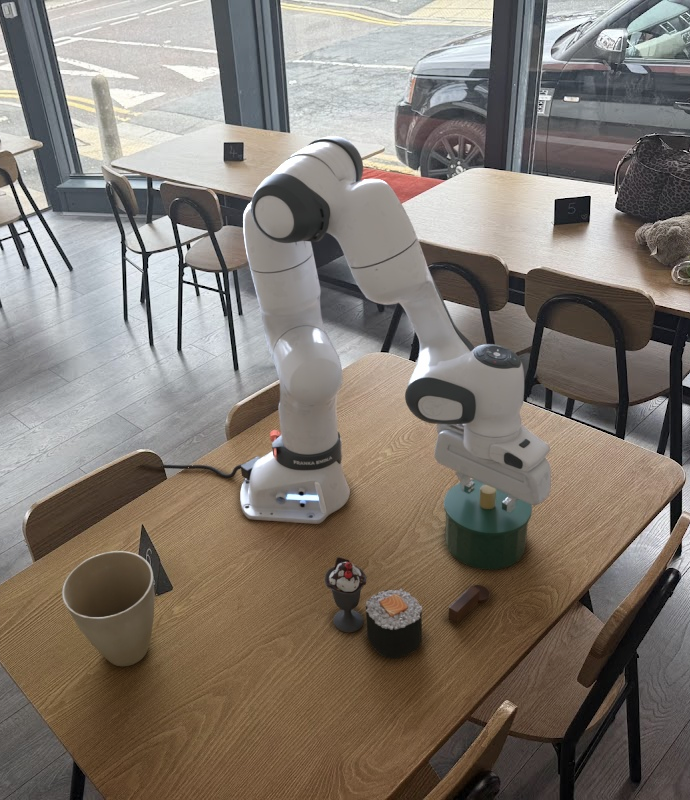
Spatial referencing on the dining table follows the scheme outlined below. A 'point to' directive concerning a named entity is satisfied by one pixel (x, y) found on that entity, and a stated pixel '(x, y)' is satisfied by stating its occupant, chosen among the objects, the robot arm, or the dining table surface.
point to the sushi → (394, 623)
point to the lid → (485, 510)
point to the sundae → (346, 593)
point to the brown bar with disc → (468, 602)
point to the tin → (485, 546)
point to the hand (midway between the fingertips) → (487, 499)
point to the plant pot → (113, 604)
